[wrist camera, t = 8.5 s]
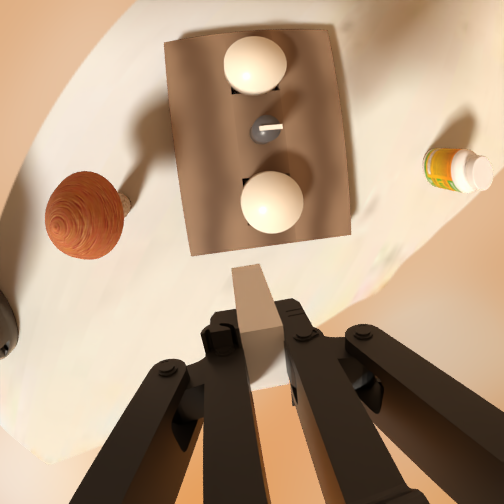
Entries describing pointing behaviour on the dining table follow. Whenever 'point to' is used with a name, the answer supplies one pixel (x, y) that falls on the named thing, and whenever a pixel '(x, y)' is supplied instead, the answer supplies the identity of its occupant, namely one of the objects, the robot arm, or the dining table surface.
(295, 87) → the console
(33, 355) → the dining table surface
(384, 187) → the dining table surface
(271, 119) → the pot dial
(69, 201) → the mushroom
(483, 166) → the supplement bottle
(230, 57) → the knob
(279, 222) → the knob
